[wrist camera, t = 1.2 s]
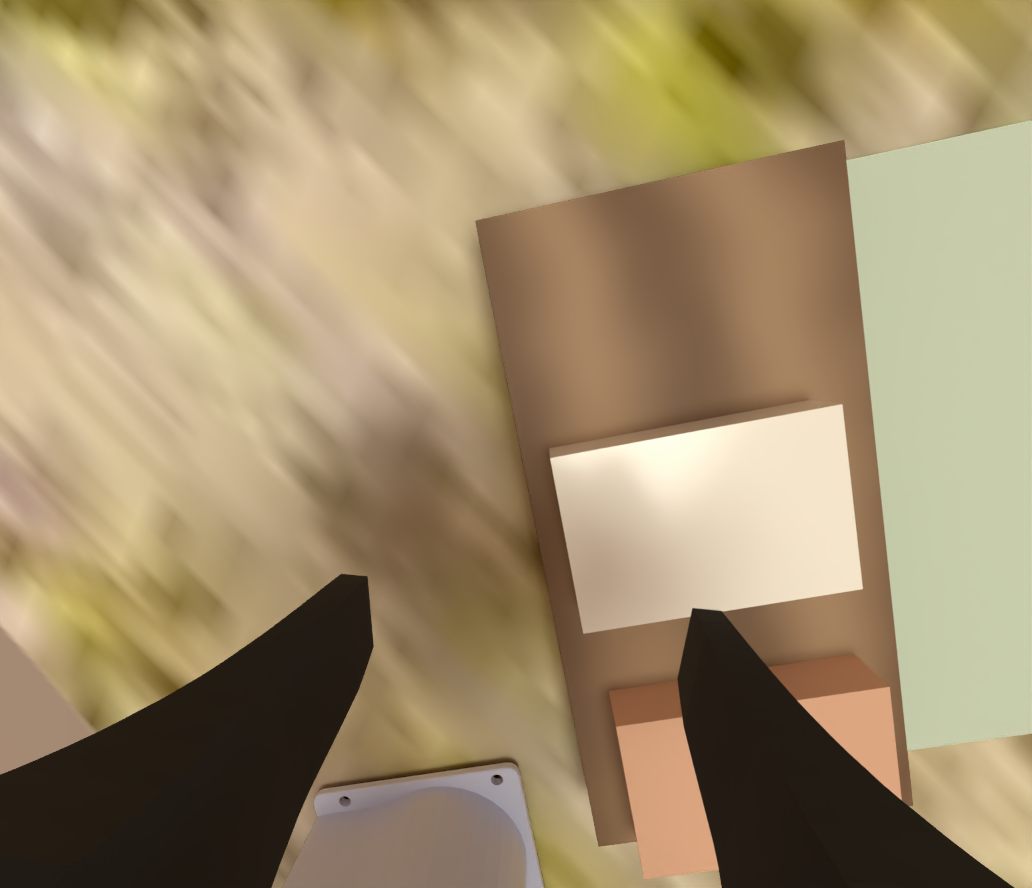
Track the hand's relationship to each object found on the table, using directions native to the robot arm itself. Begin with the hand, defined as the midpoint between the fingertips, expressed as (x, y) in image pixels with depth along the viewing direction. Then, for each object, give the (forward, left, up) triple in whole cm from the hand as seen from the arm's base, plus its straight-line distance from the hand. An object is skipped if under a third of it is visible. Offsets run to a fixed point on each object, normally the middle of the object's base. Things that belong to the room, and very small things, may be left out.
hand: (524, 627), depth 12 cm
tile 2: (+6, -10, -7) cm, 14 cm away
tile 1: (+6, 0, -7) cm, 9 cm away
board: (+6, -1, -10) cm, 12 cm away
